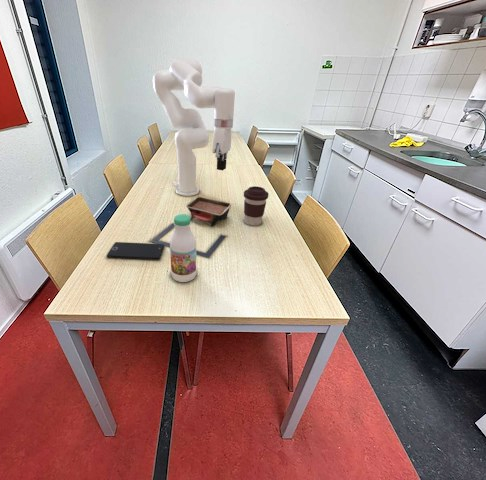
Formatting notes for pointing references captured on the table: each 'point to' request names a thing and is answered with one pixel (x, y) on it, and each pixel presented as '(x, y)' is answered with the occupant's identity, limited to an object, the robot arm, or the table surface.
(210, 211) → the baking dish
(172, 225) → the tape outline
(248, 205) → the coffee cup
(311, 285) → the table surface
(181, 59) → the robot arm
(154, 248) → the cell phone
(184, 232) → the milk bottle
